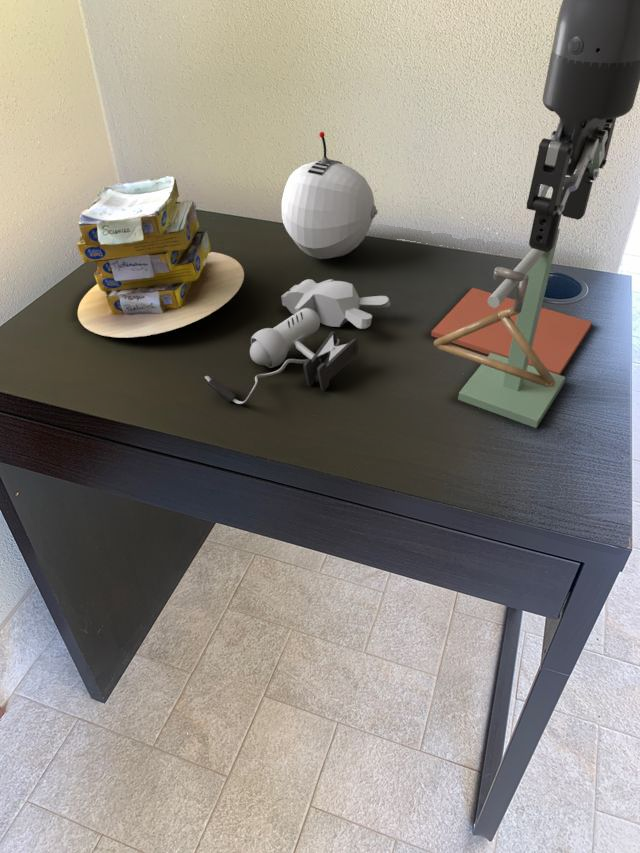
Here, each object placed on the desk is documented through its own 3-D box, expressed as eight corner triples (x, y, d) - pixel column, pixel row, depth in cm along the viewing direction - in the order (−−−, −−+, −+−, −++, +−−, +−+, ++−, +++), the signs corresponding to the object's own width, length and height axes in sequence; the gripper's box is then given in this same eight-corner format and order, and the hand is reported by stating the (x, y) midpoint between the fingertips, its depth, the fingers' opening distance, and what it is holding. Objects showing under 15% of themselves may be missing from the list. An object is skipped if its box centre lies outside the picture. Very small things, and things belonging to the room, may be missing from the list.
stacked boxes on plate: (45, 335, 96) (8, 222, 85) (126, 254, 114) (104, 152, 103) (209, 359, 91) (193, 243, 80) (266, 271, 109) (260, 166, 98)
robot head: (392, 247, 115) (400, 123, 102) (352, 285, 106) (356, 153, 92) (308, 226, 121) (306, 107, 108) (264, 260, 112) (255, 134, 99)
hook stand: (563, 384, 86) (609, 223, 72) (507, 474, 74) (549, 303, 60) (489, 359, 90) (518, 202, 76) (424, 441, 79) (445, 273, 64)
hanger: (555, 386, 70) (584, 289, 62) (552, 391, 69) (581, 293, 62) (435, 344, 75) (448, 250, 68) (431, 348, 75) (445, 253, 67)
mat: (590, 326, 96) (592, 322, 96) (558, 377, 87) (559, 372, 87) (471, 292, 104) (472, 287, 103) (431, 335, 95) (431, 331, 94)
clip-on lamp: (256, 443, 83) (365, 363, 88) (245, 412, 78) (362, 328, 83) (202, 391, 89) (308, 318, 94) (189, 358, 84) (301, 283, 89)
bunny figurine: (304, 266, 102) (394, 281, 95) (308, 297, 105) (396, 313, 98) (268, 294, 96) (362, 312, 89) (273, 326, 99) (364, 346, 92)
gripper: (619, 73, 50) (568, 272, 61) (669, 36, 59) (617, 215, 70) (522, 59, 54) (490, 250, 64) (583, 26, 62) (546, 198, 73)
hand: (556, 232), depth 67 cm, fingers open, 8 cm apart
